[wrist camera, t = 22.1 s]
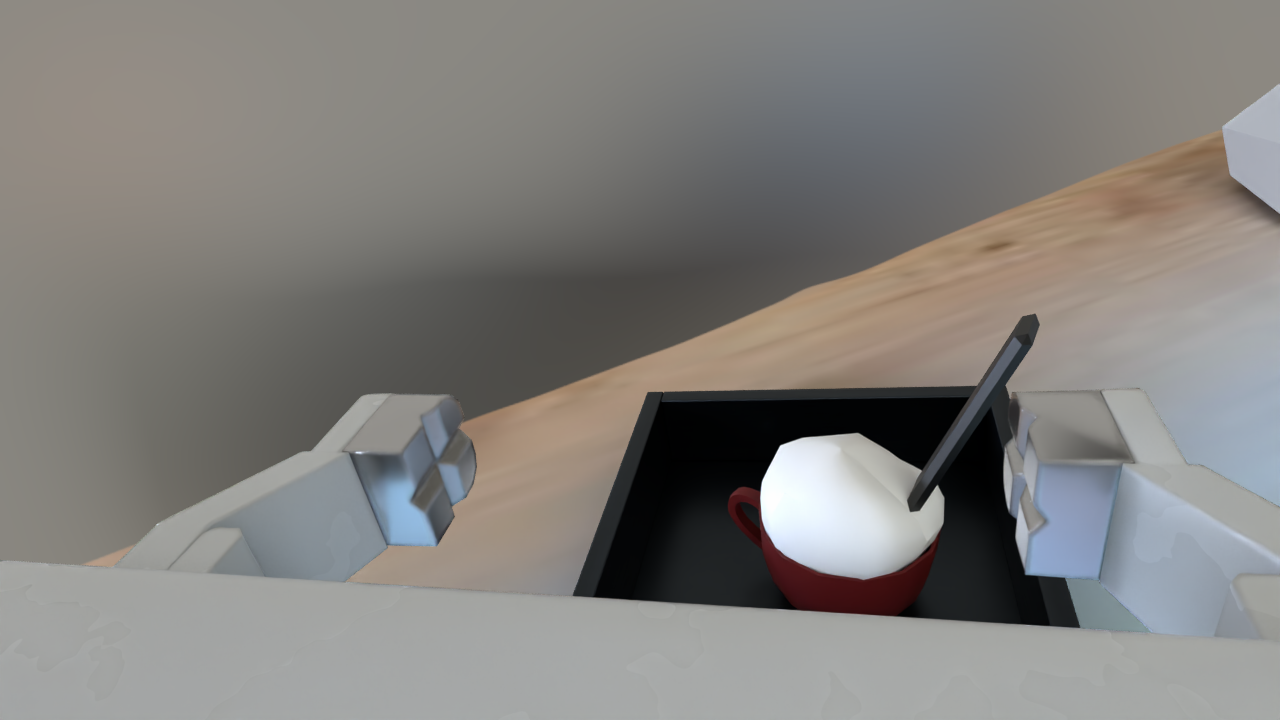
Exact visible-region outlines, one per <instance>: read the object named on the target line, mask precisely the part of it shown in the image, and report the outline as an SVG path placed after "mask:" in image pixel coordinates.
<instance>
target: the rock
mask: <svg viewBox="0 0 1280 720" xmlns="http://www.w3.org/2000/svg"><path fill="white" fill-rule="evenodd" d="M1222 130H1223V136H1224V142H1225V148H1226V154H1227V160H1228V166H1229V172H1230V175H1231V176H1232V177H1233V178H1234V179H1236V180H1237V181H1238V182H1240V183H1241V184H1242V185H1243V186H1245V187H1246V188H1247V189H1249V190H1250V191H1251V192H1252V193H1254V194H1255V195H1256V196H1258V197H1259V198H1260V199H1261V200H1263V201H1264V202H1265V203H1267V204H1268V205H1269V206H1270V207H1272V208H1273V209H1274V210H1276V211H1277V212H1278V213H1279V214H1280V84H1278V85H1277V86H1276V87H1274V88H1273V89H1272V90H1270V91H1269V92H1268V93H1267V94H1265V95H1264V96H1263V97H1261V98H1260V99H1259V100H1257V101H1256V102H1255V103H1253V104H1252V105H1251V106H1249V107H1248V108H1247V109H1245V110H1244V111H1243V112H1241V113H1240V114H1239V115H1237V116H1236V117H1235V118H1233V119H1232V120H1231V121H1229V122H1228V123H1227V124H1225V125H1224V126H1223V127H1222Z"/></svg>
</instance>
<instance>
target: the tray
mask: <svg viewBox="0 0 1280 720" xmlns="http://www.w3.org/2000/svg"><path fill="white" fill-rule="evenodd" d="M976 387H977V386H950V387H897V388H843V389H789V390H736V391H682V392H664V393H663V392H648V393H647V395H646V398H645V401H644V404H643V406H642V409H641V412H640V414H639V417H638V420H637V422H636V425H635V428H634V431H633V433H632V436H631V439H630V441H629V444H628V447H627V450H626V452H625V455H624V458H623V460H622V463H621V466H620V469H619V471H618V474H617V477H616V479H615V482H614V485H613V487H612V490H611V493H610V496H609V498H608V501H607V504H606V506H605V509H604V512H603V515H602V517H601V520H600V523H599V525H598V528H597V531H596V533H595V536H594V539H593V542H592V544H591V547H590V550H589V552H588V555H587V558H586V561H585V563H584V566H583V569H582V571H581V574H580V577H579V580H578V582H577V585H576V588H575V590H574V593H573V596H576V597H592V598H608V599H624V600H640V601H655V602H671V603H687V604H703V605H719V606H735V607H750V608H766V609H782V610H798V611H800V610H799V609H797V608H796V607H794V606H793V605H791V604H790V602H789V601H788V600H787V598H786V597H785V596H784V594H783V593H782V592H781V591H780V589H779V588H778V587H777V585H776V584H775V583H774V581H773V579H772V577H771V574H770V572H769V570H768V567H767V564H766V561H765V558H764V555H763V550H762V549H761V548H759V547H758V546H757V545H756V544H754V543H753V542H752V541H751V540H750V539H749V538H748V537H747V536H746V535H745V534H744V533H743V532H742V531H741V529H740V528H739V527H738V526H737V525H736V524H735V522H734V521H733V519H732V517H731V515H730V514H729V511H728V502H729V498H730V496H731V494H732V493H733V492H734V491H736V490H737V489H738V488H741V487H747V488H752V489H754V490H756V491H759V492H761V486H762V481H763V479H764V476H765V474H766V472H767V470H768V468H769V466H770V464H771V462H772V460H773V459H774V457H775V455H776V453H777V451H778V449H779V447H780V445H783V444H786V443H789V442H792V441H795V440H798V439H800V438H805V437H818V436H831V435H842V434H853V433H859V434H861V435H862V436H864V437H866V438H867V439H869V440H871V441H873V442H874V443H876V444H878V445H879V446H881V447H883V448H885V449H886V450H888V451H889V452H891V453H892V454H894V455H895V456H896V457H898V458H899V459H900V460H902V461H904V462H906V463H908V464H910V465H912V466H914V467H916V468H918V469H920V470H921V471H922V470H923V469H924V467H925V465H926V464H927V462H928V461H929V459H930V458H931V456H932V455H933V453H934V452H935V450H936V449H937V447H938V445H939V444H940V442H941V441H942V439H943V438H944V436H945V435H946V433H947V432H948V430H949V429H950V427H951V425H952V424H953V422H954V421H955V419H956V418H957V416H958V415H959V413H960V412H961V410H962V409H963V407H964V405H965V404H966V402H967V401H968V399H969V398H970V396H971V395H972V393H973V392H974V390H975V389H976ZM1009 403H1010V398H1009V395H1008V391H1007V388H1006V386H1004V388H1003V389H1002V391H1001V392H1000V394H999V395H998V397H997V398H996V399H995V401H994V402H993V404H992V405H991V407H990V408H989V410H988V411H987V413H986V414H985V416H984V417H983V419H982V420H981V422H980V423H979V424H978V426H977V427H976V429H975V430H974V432H973V433H972V435H971V436H970V438H969V439H968V441H967V442H966V444H965V445H964V446H963V448H962V449H961V451H960V452H959V454H958V455H957V457H956V458H955V460H954V461H953V463H952V464H951V466H950V467H949V469H948V470H947V471H946V473H945V474H944V476H943V477H942V479H941V480H940V482H939V483H938V487H939V489H940V491H941V493H942V495H943V497H944V523H943V525H942V527H941V532H940V538H939V543H938V548H937V551H936V554H935V557H934V560H933V563H932V566H931V569H930V572H929V575H928V577H927V580H926V582H925V584H924V587H923V589H922V591H921V592H920V594H919V596H918V597H917V599H916V601H915V602H914V603H913V604H911V605H910V606H909V607H907V608H906V609H905V610H903V611H902V612H901V613H899V614H898V615H897V616H895V617H910V618H925V619H941V620H957V621H973V622H989V623H1005V624H1021V625H1037V626H1052V627H1068V628H1080V625H1079V621H1078V618H1077V615H1076V612H1075V608H1074V605H1073V602H1072V599H1071V595H1070V592H1069V589H1068V586H1067V583H1066V579H1065V578H1064V577H1050V576H1036V575H1025V572H1024V568H1023V564H1022V560H1021V557H1020V553H1019V549H1018V545H1017V542H1016V538H1015V536H1016V527H1017V519H1016V518H1014V517H1013V516H1012V515H1010V514H1009V510H1008V506H1007V502H1006V496H1005V490H1004V452H1005V445H1006V444H1007V443H1008V442H1009V441H1010V440H1011V439H1012V438H1013V435H1012V432H1011V428H1010V425H1009V421H1008V411H1009ZM740 505H741V508H742V509H743V511H744V513H745V514H746V516H747V517H748V518H749V519H750V520H751V521H752V522H753V523H754V524H755V525H756V526H757V527H758V528H760V519H759V510H758V509H757V508H756V507H754V506H753V505H751V504H749V503H747V502H740Z"/></svg>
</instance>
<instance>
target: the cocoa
mask: <svg viewBox="0 0 1280 720" xmlns="http://www.w3.org/2000/svg"><path fill="white" fill-rule="evenodd" d="M1039 325H1040V324H1039V322H1038V319H1037V316H1036V314H1032V315H1027V316H1023V317H1022V318H1021V319H1020V321H1019V322H1018V324H1017V325H1016V327H1015V329H1014V330H1013V332H1012V333H1011V335H1010V336H1009V338H1008V339H1007V341H1006V342H1005V344H1004V345H1003V347H1002V349H1001V350H1000V352H999V353H998V355H997V356H996V358H995V359H994V361H993V362H992V364H991V365H990V367H989V369H988V370H987V372H986V373H985V375H984V376H983V378H982V379H981V381H980V382H979V384H978V385H977V387H976V389H975V390H974V392H973V393H972V395H971V396H970V398H969V399H968V401H967V402H966V404H965V405H964V407H963V409H962V410H961V412H960V413H959V415H958V416H957V418H956V419H955V421H954V422H953V424H952V425H951V427H950V429H949V430H948V432H947V433H946V435H945V436H944V438H943V439H942V441H941V442H940V444H939V445H938V447H937V449H936V450H935V452H934V453H933V455H932V456H931V458H930V459H929V461H928V462H927V464H926V465H925V467H924V469H923V470H922V471H921V470H920V469H918V468H916V467H914V466H912V465H910V464H908V463H906V462H904V461H902V460H900V459H899V458H898V457H896V456H895V455H894V454H892V453H891V452H889V451H888V450H886V449H885V448H883V447H881V446H879V445H878V444H876V443H874V442H873V441H871V440H869V439H867V438H866V437H864V436H862V435H861V434H859V433H853V434H842V435H831V436H818V437H805V438H800V439H798V440H795V441H792V442H789V443H786V444H783V445H780V447H779V449H778V451H777V453H776V455H775V457H774V459H773V460H772V462H771V464H770V466H769V468H768V470H767V472H766V474H765V476H764V479H763V481H762V486H761V492H759V491H756V490H754V489H752V488H747V487H741V488H738V489H737V490H736V491H734V492H733V493H732V494H731V496H730V498H729V502H728V511H729V514H730V515H731V517H732V519H733V521H734V522H735V524H736V525H737V526H738V527H739V528H740V529H741V531H742V532H743V533H744V534H745V535H746V536H747V537H748V538H749V539H750V540H751V541H752V542H753V543H754V544H756V545H757V546H758V547H759V548H761V549H762V550H763V555H764V558H765V561H766V564H767V567H768V570H769V572H770V574H771V577H772V579H773V581H774V583H775V584H776V585H777V587H778V588H779V589H780V591H781V592H782V593H783V594H784V596H785V597H786V598H787V600H788V601H789V602H790V604H791V605H793V606H794V607H796V608H797V609H799V610H800V611H814V612H830V613H846V614H862V615H878V616H894V617H895V616H897V615H898V614H899V613H901V612H902V611H903V610H905V609H906V608H907V607H909V606H910V605H911V604H913V603H914V602H915V601H916V599H917V597H918V596H919V594H920V592H921V591H922V589H923V587H924V584H925V582H926V580H927V577H928V575H929V572H930V569H931V566H932V563H933V560H934V557H935V554H936V551H937V548H938V543H939V538H940V532H941V527H942V525H943V523H944V497H943V495H942V493H941V491H940V489H939V487H938V483H939V482H940V480H941V479H942V477H943V476H944V474H945V473H946V471H947V470H948V469H949V467H950V466H951V464H952V463H953V461H954V460H955V458H956V457H957V455H958V454H959V452H960V451H961V449H962V448H963V446H964V445H965V444H966V442H967V441H968V439H969V438H970V436H971V435H972V433H973V432H974V430H975V429H976V427H977V426H978V424H979V423H980V422H981V420H982V419H983V417H984V416H985V414H986V413H987V411H988V410H989V408H990V407H991V405H992V404H993V402H994V401H995V399H996V398H997V397H998V395H999V394H1000V392H1001V391H1002V389H1003V388H1004V386H1005V385H1006V383H1007V382H1008V380H1009V379H1010V377H1011V376H1012V374H1013V373H1014V372H1015V370H1016V369H1017V367H1018V366H1019V364H1020V363H1021V361H1022V360H1023V358H1024V357H1025V355H1026V354H1027V352H1028V351H1029V350H1030V348H1031V347H1032V345H1033V342H1034V339H1035V337H1036V334H1037V331H1038V328H1039ZM740 502H747V503H749V504H751V505H753V506H754V507H756V508H757V509H758V510H759V519H760V528H758V527H757V526H756V525H755V524H754V523H753V522H752V521H751V520H750V519H749V518H748V517H747V516H746V514H745V513H744V511H743V509H742V508H741V505H740Z"/></svg>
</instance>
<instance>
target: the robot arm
mask: <svg viewBox="0 0 1280 720" xmlns="http://www.w3.org/2000/svg"><path fill="white" fill-rule="evenodd" d="M463 419H464V415H463V412H462V409H461V406H460V403H459V401H458V399H456V398H455V397H453V396H452V395H440V394H436V395H435V394H369V395H364V396H361V397H360V399H359V400H358V401H357V402H356V403H355V404H354V405H353V406H352V407H351V408H350V409H349V410H348V412H347V413H346V414H345V415H344V416H343V417H342V418H341V419H340V420H339V421H338V422H337V424H336V425H335V426H334V427H333V428H332V429H331V430H330V431H329V432H328V433H327V434H326V435H325V437H324V438H323V439H322V440H321V441H320V442H319V443H318V444H317V445H316V446H315V448H314V449H313V450H312V451H311V452H300V453H298V454H296V455H295V456H292V457H291V458H288V459H286V460H284V461H283V462H280V463H278V464H276V465H274V466H272V467H270V468H268V469H266V470H264V471H262V472H260V473H258V474H256V475H254V476H252V477H250V478H248V479H246V480H244V481H242V482H240V483H238V484H236V485H234V486H232V487H230V488H228V489H226V490H224V491H222V492H220V493H218V494H215V495H214V496H211V497H209V498H207V499H205V500H203V501H201V502H200V503H197V504H195V505H194V506H191V507H189V508H187V509H185V510H183V511H181V512H179V513H177V514H175V515H173V516H171V517H169V518H167V519H165V520H163V521H161V522H159V523H158V524H157V525H156V526H155V527H154V528H153V529H152V530H151V531H150V532H149V533H148V534H147V535H146V536H144V538H142V539H141V540H140V541H139V542H138V543H137V544H136V545H135V546H134V547H133V548H132V549H131V550H130V551H129V552H128V553H127V554H126V555H125V556H124V557H123V558H122V559H121V560H120V561H118V562H117V563H116V564H115V565H114V566H113V567H102V566H86V565H69V564H54V563H37V562H23V561H7V560H0V720H1280V507H1279V506H1277V505H1275V504H1273V503H1271V502H1269V501H1267V500H1266V499H1264V498H1262V497H1260V496H1258V495H1256V494H1255V493H1253V492H1251V491H1249V490H1247V489H1245V488H1243V487H1242V486H1240V485H1238V484H1236V483H1234V482H1232V481H1230V480H1229V479H1227V478H1225V477H1223V476H1221V475H1219V474H1217V473H1216V472H1214V471H1212V470H1210V469H1208V468H1206V467H1205V466H1203V465H1188V463H1187V462H1186V460H1185V458H1184V457H1183V455H1182V453H1181V452H1180V450H1179V448H1178V446H1177V445H1176V443H1175V441H1174V440H1173V438H1172V436H1171V435H1170V433H1169V431H1168V429H1167V428H1166V426H1165V424H1164V423H1163V421H1162V419H1161V418H1160V416H1159V414H1158V412H1157V411H1156V409H1155V407H1154V406H1153V404H1152V402H1151V401H1150V399H1149V397H1148V395H1147V394H1146V392H1145V391H1143V390H1141V389H1140V388H1127V389H1101V390H1082V391H1043V392H1012V395H1011V399H1010V403H1009V411H1008V421H1009V425H1010V428H1011V432H1012V435H1013V438H1012V439H1011V440H1010V441H1009V442H1008V443H1007V444H1006V445H1005V452H1004V490H1005V496H1006V502H1007V506H1008V510H1009V514H1010V515H1012V516H1013V517H1014V518H1016V519H1017V527H1016V536H1015V538H1016V542H1017V545H1018V549H1019V553H1020V557H1021V560H1022V564H1023V568H1024V572H1025V575H1036V576H1050V577H1064V578H1078V579H1091V580H1100V581H1099V583H1100V584H1101V585H1102V586H1103V587H1104V588H1105V589H1106V590H1107V591H1108V592H1109V593H1110V594H1111V595H1113V596H1114V597H1115V598H1116V599H1117V600H1118V601H1119V602H1120V603H1121V604H1122V605H1123V606H1124V607H1125V608H1126V609H1127V610H1129V611H1130V612H1131V613H1132V614H1133V615H1134V616H1135V617H1136V618H1137V619H1138V620H1139V621H1140V622H1141V623H1142V624H1144V625H1145V626H1146V627H1147V628H1148V629H1149V630H1150V631H1151V632H1152V633H1146V632H1130V631H1115V630H1099V629H1084V628H1068V627H1052V626H1037V625H1021V624H1005V623H989V622H973V621H957V620H941V619H925V618H910V617H894V616H878V615H862V614H846V613H830V612H814V611H798V610H782V609H766V608H750V607H735V606H719V605H703V604H687V603H671V602H655V601H640V600H624V599H608V598H592V597H576V596H561V595H545V594H529V593H513V592H497V591H482V590H466V589H450V588H434V587H418V586H403V585H387V584H371V583H355V582H345V581H346V580H347V579H349V578H350V577H351V576H352V575H354V574H355V573H356V572H358V571H359V570H360V569H361V568H363V567H364V566H365V565H366V564H368V563H369V562H370V561H372V560H373V559H374V558H375V557H377V556H378V555H379V554H381V553H382V552H383V551H384V550H386V549H387V548H388V547H387V545H394V546H437V545H438V544H439V542H440V540H441V539H442V537H443V535H444V534H445V532H446V530H447V529H448V527H449V525H450V524H451V522H452V520H453V519H454V517H455V516H454V513H453V510H452V506H453V505H455V504H456V503H458V502H459V501H461V500H463V499H464V498H466V497H467V495H468V493H469V491H470V489H471V488H472V486H473V483H474V478H475V473H476V468H477V465H476V453H475V450H474V446H473V443H472V440H471V439H470V438H469V437H468V436H467V435H466V434H465V433H464V432H462V431H461V430H460V429H459V428H460V426H461V424H462V422H463Z"/></svg>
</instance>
